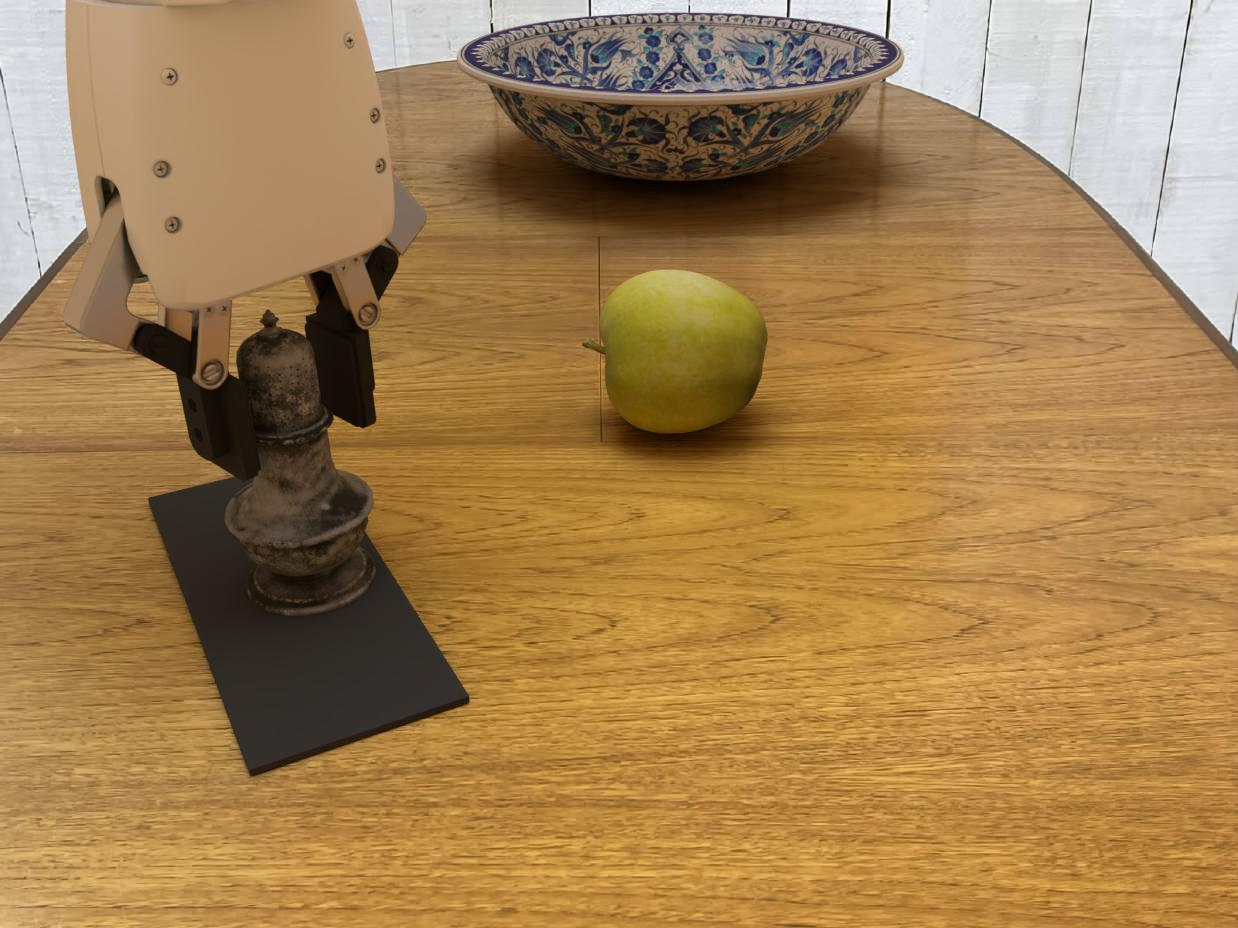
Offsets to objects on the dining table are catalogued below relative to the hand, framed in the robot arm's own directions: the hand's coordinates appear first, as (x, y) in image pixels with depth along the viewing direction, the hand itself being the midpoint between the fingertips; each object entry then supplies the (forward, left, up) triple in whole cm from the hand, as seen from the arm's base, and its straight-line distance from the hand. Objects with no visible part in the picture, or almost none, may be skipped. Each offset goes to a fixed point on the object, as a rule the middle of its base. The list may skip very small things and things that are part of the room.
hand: (290, 436), depth 49 cm
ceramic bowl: (+42, +43, -7) cm, 61 cm away
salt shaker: (0, 0, -7) cm, 7 cm away
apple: (+20, +5, -7) cm, 22 cm away
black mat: (-1, 0, -7) cm, 7 cm away
